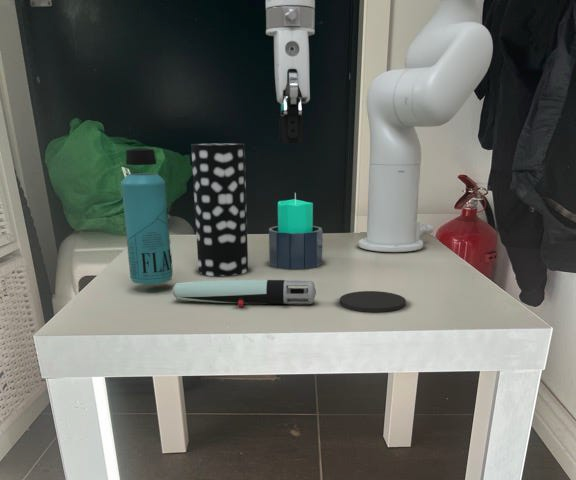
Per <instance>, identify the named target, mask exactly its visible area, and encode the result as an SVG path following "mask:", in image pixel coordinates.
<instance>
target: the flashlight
mask: <svg viewBox="0 0 576 480" xmlns="http://www.w3.org/2000/svg"><path fill="white" fill-rule="evenodd" d="M171 292H172V295H173V297H174V298H175V299H176V300H180V301H189V302H199V303H200V302H201V303H219V304H221V303H222V304H237V307H239V308H243V307H244V304H252V305H253V304H254V305H255V304H258V305H260V304H261V305H262V304H263V305H285V304H286V305H287V304H288V305H295V304H296V305H312V304H313V303H314V301H315V298H316V295H317V290H316V286H315V283H314V281H313V280H287V279H219V280H217V279H216V280H215V279H214V280H213V279H212V280H196V281H195V280H194V281H182V282H176V283H175V284H174V285H173V287H172V290H171Z"/></svg>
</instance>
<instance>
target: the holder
mask: <svg viewBox="0 0 576 480" xmlns="http://www.w3.org/2000/svg"><path fill="white" fill-rule="evenodd" d="M268 262H269V263H268V265H269V266H270V267H274V268H276V269H286V270H304V269H305V270H306V269H312V268H313V269H314V268H317V267H319V266H322V265H323V228H322V227H320V226H316V225H313V232H305V233H285V232H278V225H276V226H275V225H274V226H272V227H269V228H268Z"/></svg>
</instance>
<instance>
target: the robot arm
mask: <svg viewBox="0 0 576 480" xmlns="http://www.w3.org/2000/svg"><path fill="white" fill-rule="evenodd" d="M315 3H316V0H265V35H267V36H269V37H273V58H274V60H273V61H274V62H273V63H274V82H275V85H274V86H275V94H276V101H277V103H279V104H280V116H279V118H278V119H279V124H278V125H279V126H278V127H279V142H282V143H283V144H302V143H303V141H304V116H303V109H302V108H303V107H302V105H303V104H307V103H308V102H309V101H310V100H311V92H310V90H311V89H310V88H311V87H310V44H309V43H310V42H309V36H313V35H315V32H316V31H315V25H316V23H315V22H316V18H315V17H316V16H315V15H316V10H315V9H316V4H315ZM481 20H482V19H481V11H480V8H479V5H478V3H477V0H440V4H439V6H438V8H437V9H436V11H435V13H434V14H433V15H432V17H431V18H430V19H429V20H428V22H427V23H426V24H425V25H424V27H423V28H422V29H421V30H420V32H419V33H418V34H417V35H416V37H415V38H414V39H413V41H412V42H411V44H410V46H409V47H408V49H407V51H406V54H405V57H404V68H396V69H391V70H387V71H384V72H381V73H379V75H377V76H376V77H375V78H374V79H373V80H372V82H371V83H370V85H369V87H368V89H367V93H366V94H367V95H366V112H367V118H368V127H369V143H370V144H369V170H368V171H369V172H368V193H367V195H368V196H367V197H368V198H367V220H366V222H367V223H366V236H365V237H363V238H360V239H359V240H358V247H359V248H361V249H363V250H367V251H373V252H378V253H379V252H380V253H409V252H414V251H419V250H421V249H423V248H424V241H423V240H422V239H420V237H421V236H422V235H429V234H432V233H433V232H434V225H433V224H432V223H424V224H421V222H418V208H419V207H418V206H419V191H420V179H421V178H420V177H421V164H422V147H421V141H420V139H419V136H418V133H417V131H416V129H415V127H416V128H429V127H430V128H431V127H432V128H433V127H439V126H444V125H445V124H447V123H448V122H450V121H451V120H452V119H453V118H454V117H455V116H456V115H457V113H458V112H459V111H460V110H461V109H462V107H463V106H464V104H465V103H466V102H467V101H468V99H469V98H470V97H471V95H472V94H473V93H474V92H475V90H476V89H477V88H478V86H479V85H480V83H481V81H483V79H484V77H485V76H486V74H487V72H488V70H489V68H490V65H491V62H492V58H493V53H494V52H493V51H494V43H493V38H492V34H491V32H490V31H489V29H488V28H487V27H486V26H485V25H483V24H482V23H481V22H482V21H481Z"/></svg>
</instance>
